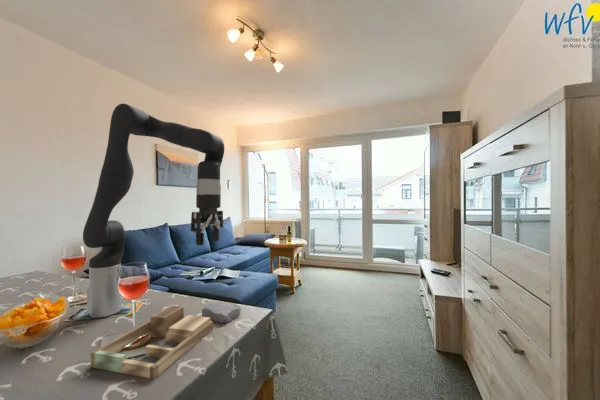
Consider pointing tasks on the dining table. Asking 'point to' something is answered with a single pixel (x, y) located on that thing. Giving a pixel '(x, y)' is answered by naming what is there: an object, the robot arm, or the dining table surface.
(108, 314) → the robot arm
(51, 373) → the dining table surface
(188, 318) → the box
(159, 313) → the walnut block
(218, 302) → the stone block
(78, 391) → the dining table surface
